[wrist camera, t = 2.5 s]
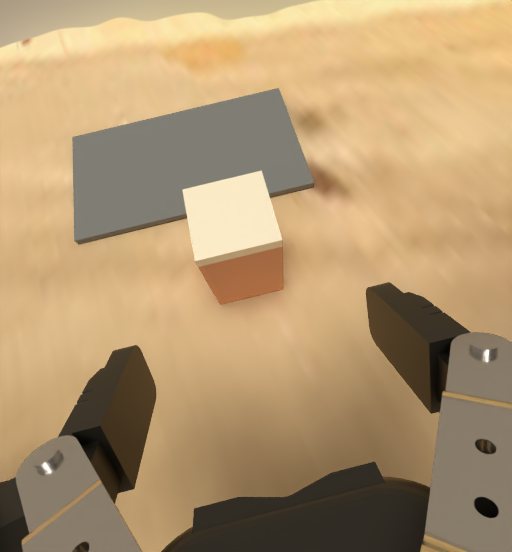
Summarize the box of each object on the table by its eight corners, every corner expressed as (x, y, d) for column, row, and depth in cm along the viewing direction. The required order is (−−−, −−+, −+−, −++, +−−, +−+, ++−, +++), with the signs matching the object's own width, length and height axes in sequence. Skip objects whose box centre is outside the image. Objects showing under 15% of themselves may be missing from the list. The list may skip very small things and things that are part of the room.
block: (267, 234, 28) (261, 170, 21) (283, 289, 26) (282, 239, 19) (209, 248, 28) (182, 189, 21) (220, 304, 26) (194, 261, 19)
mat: (278, 93, 34) (278, 88, 33) (313, 186, 29) (314, 182, 29) (76, 141, 34) (72, 137, 33) (78, 244, 29) (74, 240, 28)
